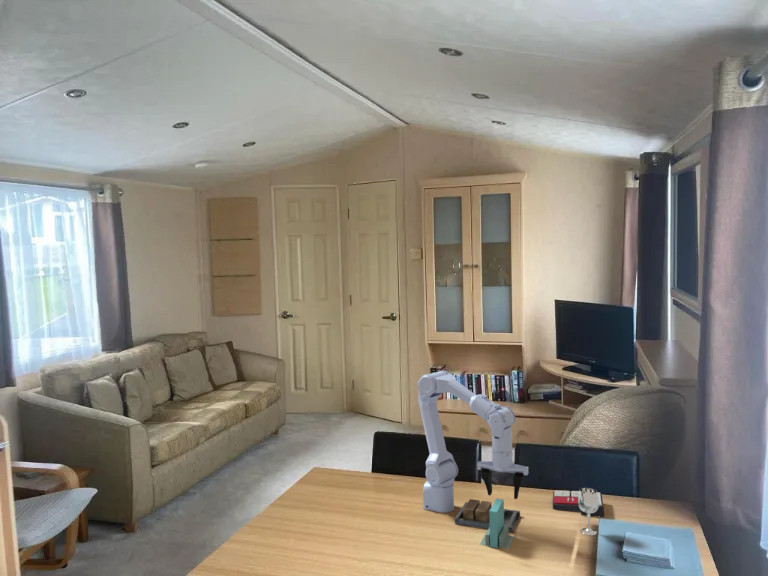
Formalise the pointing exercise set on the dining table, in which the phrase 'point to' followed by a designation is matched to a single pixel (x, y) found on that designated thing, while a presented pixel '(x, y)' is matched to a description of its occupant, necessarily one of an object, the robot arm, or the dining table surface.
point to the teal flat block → (496, 522)
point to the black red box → (573, 502)
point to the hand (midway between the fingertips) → (503, 495)
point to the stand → (503, 538)
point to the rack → (509, 519)
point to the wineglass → (588, 506)
